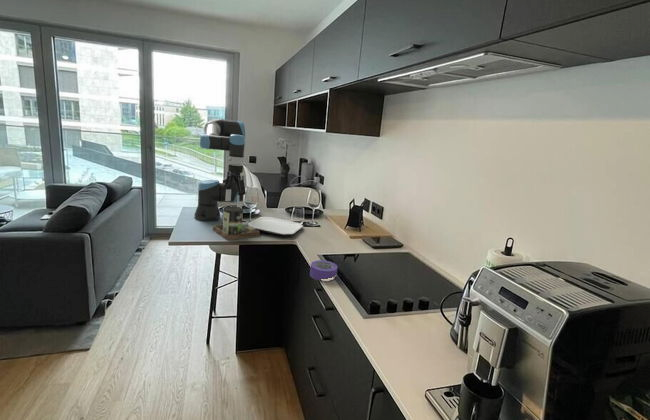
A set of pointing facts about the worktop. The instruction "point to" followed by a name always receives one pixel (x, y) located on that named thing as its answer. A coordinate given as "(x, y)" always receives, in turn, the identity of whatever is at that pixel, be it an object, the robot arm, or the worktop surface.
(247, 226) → the box
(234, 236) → the brown wooden frame
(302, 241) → the worktop surface
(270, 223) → the plate
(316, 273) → the tape roll
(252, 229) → the box
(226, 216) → the coffee can
